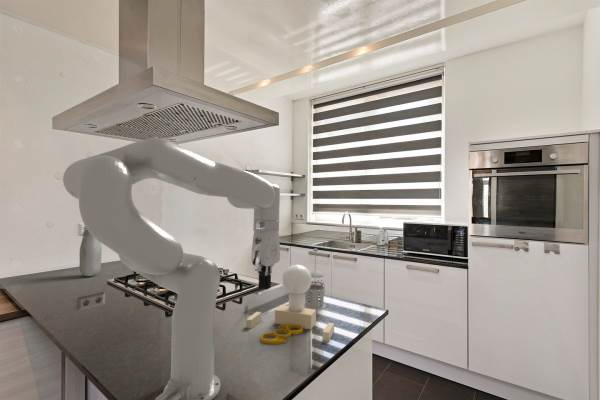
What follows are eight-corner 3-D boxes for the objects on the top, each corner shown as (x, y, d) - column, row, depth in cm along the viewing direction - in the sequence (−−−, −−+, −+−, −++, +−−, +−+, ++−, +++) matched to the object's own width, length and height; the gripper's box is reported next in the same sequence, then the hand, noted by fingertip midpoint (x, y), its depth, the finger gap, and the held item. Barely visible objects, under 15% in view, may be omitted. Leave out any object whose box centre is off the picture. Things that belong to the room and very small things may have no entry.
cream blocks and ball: (328, 341, 96) (329, 275, 96) (246, 327, 106) (247, 267, 106) (339, 322, 112) (339, 265, 112) (266, 311, 121) (267, 259, 122)
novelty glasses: (310, 334, 102) (291, 325, 110) (310, 329, 102) (291, 320, 110) (271, 349, 91) (253, 338, 99) (271, 344, 92) (253, 333, 99)
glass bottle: (84, 274, 177) (85, 227, 177) (103, 273, 179) (104, 227, 179) (75, 278, 167) (77, 228, 167) (96, 277, 170) (97, 228, 170)
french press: (318, 301, 136) (319, 246, 136) (332, 309, 126) (333, 250, 126) (299, 304, 132) (300, 247, 132) (312, 312, 121) (313, 251, 122)
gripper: (266, 228, 80) (264, 296, 80) (287, 225, 94) (286, 283, 94) (241, 226, 83) (239, 293, 82) (266, 224, 97) (264, 281, 96)
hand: (264, 288), depth 88 cm, fingers closed
